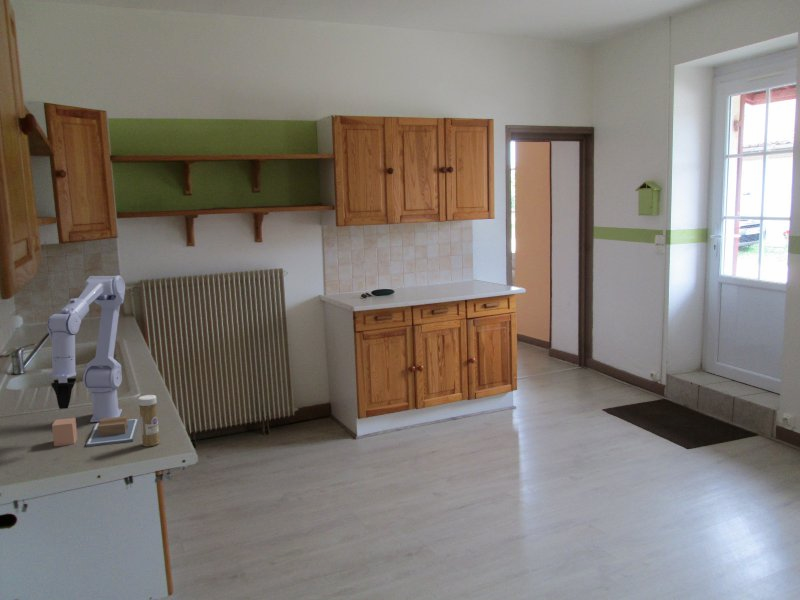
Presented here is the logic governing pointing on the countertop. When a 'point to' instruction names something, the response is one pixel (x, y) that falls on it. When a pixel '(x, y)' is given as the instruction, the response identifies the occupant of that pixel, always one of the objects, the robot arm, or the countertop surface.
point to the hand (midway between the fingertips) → (64, 406)
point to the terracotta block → (64, 432)
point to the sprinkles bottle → (149, 420)
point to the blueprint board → (112, 439)
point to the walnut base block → (112, 426)
